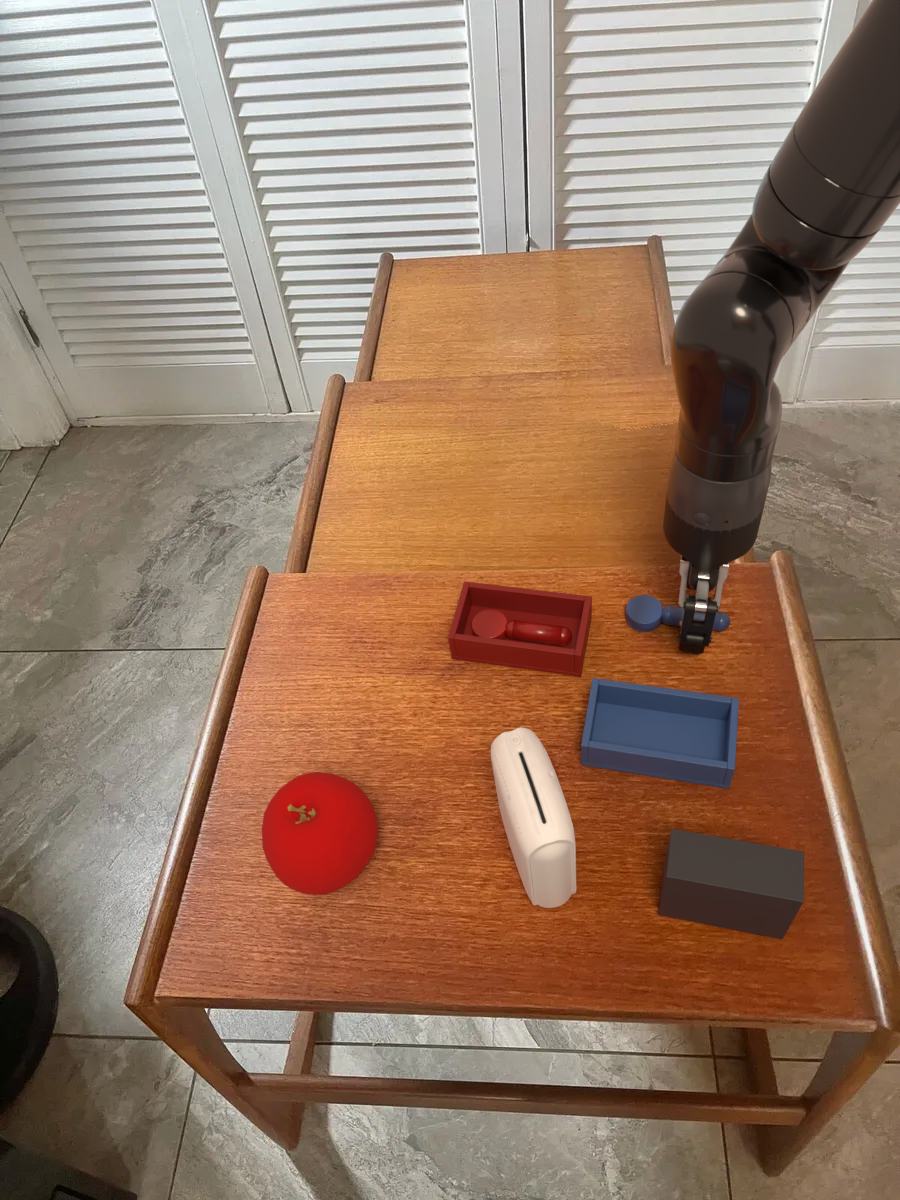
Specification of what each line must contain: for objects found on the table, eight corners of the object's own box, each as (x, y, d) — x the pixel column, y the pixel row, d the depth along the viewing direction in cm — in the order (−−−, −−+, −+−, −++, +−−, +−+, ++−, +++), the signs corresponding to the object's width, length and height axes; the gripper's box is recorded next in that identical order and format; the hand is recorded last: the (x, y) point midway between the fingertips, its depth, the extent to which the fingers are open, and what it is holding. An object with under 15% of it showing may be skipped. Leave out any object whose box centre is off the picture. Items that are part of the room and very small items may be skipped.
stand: (783, 892, 69) (804, 851, 62) (782, 939, 67) (803, 902, 60) (662, 870, 71) (671, 828, 64) (658, 915, 69) (666, 876, 62)
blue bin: (733, 719, 78) (739, 697, 75) (729, 789, 74) (735, 769, 71) (592, 698, 81) (592, 677, 78) (580, 765, 77) (581, 745, 74)
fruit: (294, 796, 78) (262, 740, 70) (395, 808, 76) (374, 751, 69) (263, 901, 73) (225, 853, 65) (371, 916, 71) (346, 869, 63)
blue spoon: (729, 613, 85) (732, 602, 83) (727, 643, 83) (730, 631, 81) (627, 601, 87) (628, 589, 86) (623, 629, 85) (624, 618, 84)
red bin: (591, 618, 86) (592, 596, 83) (581, 677, 82) (581, 655, 80) (467, 603, 89) (464, 580, 86) (451, 659, 85) (447, 637, 82)
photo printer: (493, 798, 76) (480, 725, 66) (541, 784, 76) (536, 709, 67) (530, 916, 70) (522, 854, 60) (583, 900, 70) (584, 836, 60)
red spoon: (574, 628, 85) (574, 616, 84) (569, 657, 83) (569, 646, 82) (476, 615, 87) (475, 604, 86) (469, 644, 85) (467, 633, 84)
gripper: (762, 567, 66) (731, 688, 79) (768, 433, 74) (739, 563, 87) (657, 556, 67) (644, 676, 81) (675, 426, 76) (660, 554, 89)
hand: (694, 617), depth 84 cm, fingers open, 7 cm apart
